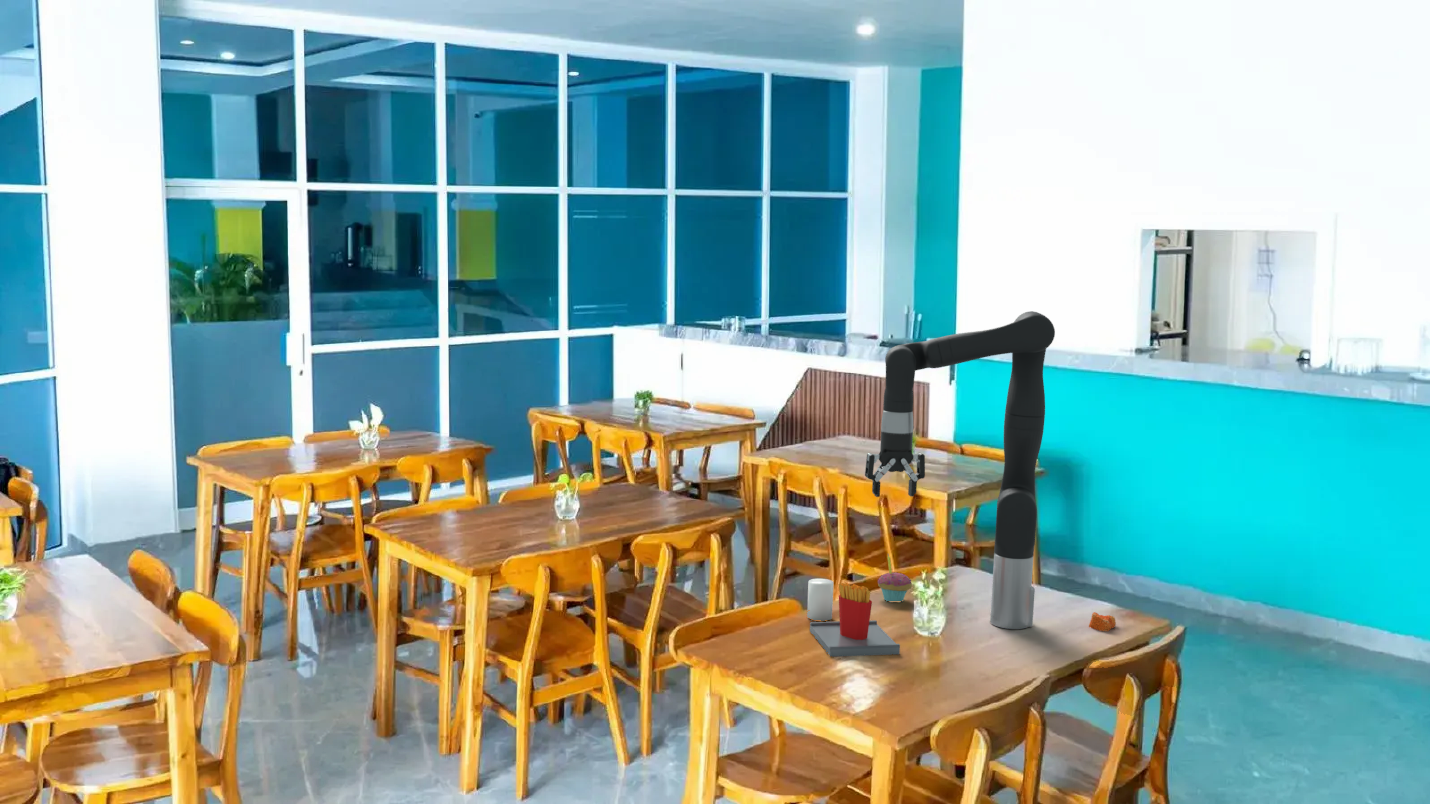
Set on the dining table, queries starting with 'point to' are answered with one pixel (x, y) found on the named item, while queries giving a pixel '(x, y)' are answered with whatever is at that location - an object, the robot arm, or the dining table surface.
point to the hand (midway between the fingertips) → (893, 496)
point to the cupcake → (894, 585)
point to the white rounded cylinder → (820, 599)
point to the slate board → (853, 640)
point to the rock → (1102, 622)
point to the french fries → (854, 611)
